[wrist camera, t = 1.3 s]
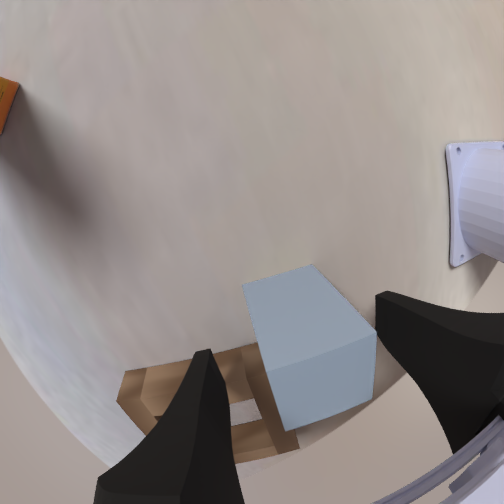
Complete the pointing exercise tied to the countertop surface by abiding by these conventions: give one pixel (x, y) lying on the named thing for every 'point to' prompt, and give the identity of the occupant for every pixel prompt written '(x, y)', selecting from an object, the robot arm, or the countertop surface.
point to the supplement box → (6, 98)
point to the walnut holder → (238, 388)
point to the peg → (311, 345)
